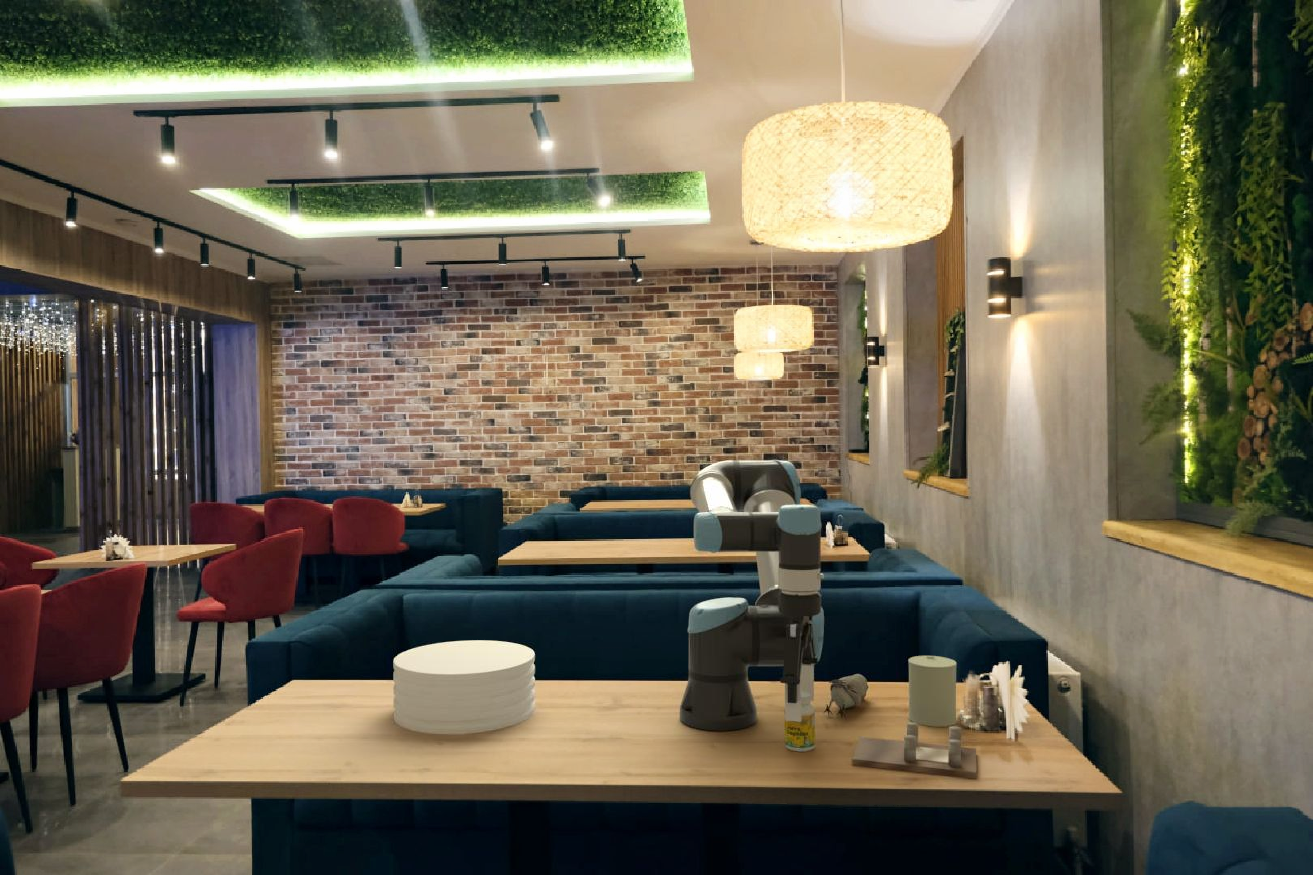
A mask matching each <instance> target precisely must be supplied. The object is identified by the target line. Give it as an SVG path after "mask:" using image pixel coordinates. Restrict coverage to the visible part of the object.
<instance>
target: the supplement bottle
mask: <svg viewBox="0 0 1313 875" xmlns="http://www.w3.org/2000/svg"><path fill="white" fill-rule="evenodd" d="M811 702H812V701H811V695H810V694H809V693H807V692H802V691H801V722H796V721H785V720H784V746H785V748H786V749H788V750H790V751H792V752H798V753H799V752H801V753H802V752H803V753H804V752H810V751H812V750H814V748H815V747H816V729H815V728H816V726H815V725H816V724H815V721H816V717H815V708H814V706H813V705H811V704H810V703H811Z"/></svg>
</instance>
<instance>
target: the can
mask: <svg viewBox="0 0 1313 875" xmlns="http://www.w3.org/2000/svg"><path fill="white" fill-rule="evenodd" d="M956 705H957V662H956V661H955V660H954V659H951V658H949V657H943V656H938V655H937V656H936V655H918V656H917V655H916V656H912V657H910V658H908V715H907V718H908V720H909V721H910V722H914V723H918V725H920V726H926V727H935V728H943V727H951V726H955V725H956V724H957V722H958V720H957V706H956Z"/></svg>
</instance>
